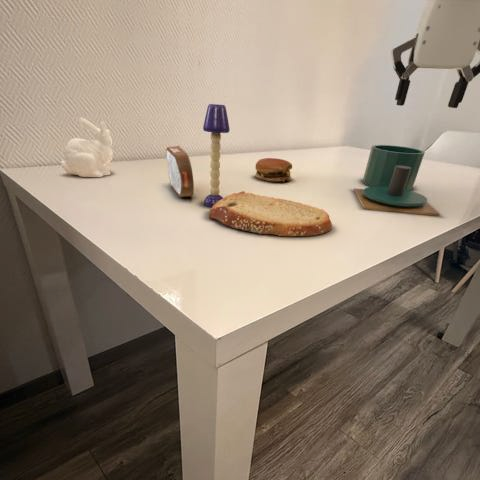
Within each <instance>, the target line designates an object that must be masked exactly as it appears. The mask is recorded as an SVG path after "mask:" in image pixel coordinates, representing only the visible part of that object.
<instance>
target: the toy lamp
mask: <svg viewBox="0 0 480 480" xmlns="http://www.w3.org/2000/svg"><path fill="white" fill-rule="evenodd" d="M230 129H231V128H230V123H229V118H228V112H227V107H226V105H225V104H216V103H209V104H208V105H207V109H206V112H205V117H204V121H203V126H202V130H203V131H204V132H207V133H210V140H211V142H210V150H211V152H210V166H209V167H210V171H209V172H210V175H209V176H210V182H209V183H210V189H209V191H210V194H208V195H207V196H205V198H204V199H203V205H204V206H205V207H207V208H212V206H213V205H214V204H215V203H216V202H218V201H219V200H221V199H223V198H224V197H223V196H222V195H220V184H221V183H220V176H221V173H220V168H221V162H220V158H221V152H220V151H221V139H222V135H221V134H229V133H230Z"/></svg>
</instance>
